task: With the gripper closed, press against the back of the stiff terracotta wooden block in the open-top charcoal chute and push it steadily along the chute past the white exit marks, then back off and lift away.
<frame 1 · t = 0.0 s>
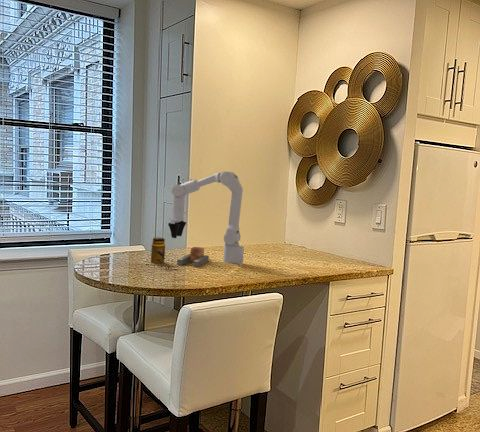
hand: (176, 237, 238), 10 cm above the breakfast bar, fingers open, 7 cm apart
condiment: (155, 264, 219), on the breakfast bar
chute: (193, 264, 224), on the breakfast bar
block: (197, 254, 229), point 4 cm above the breakfast bar, slide at 0.0 cm
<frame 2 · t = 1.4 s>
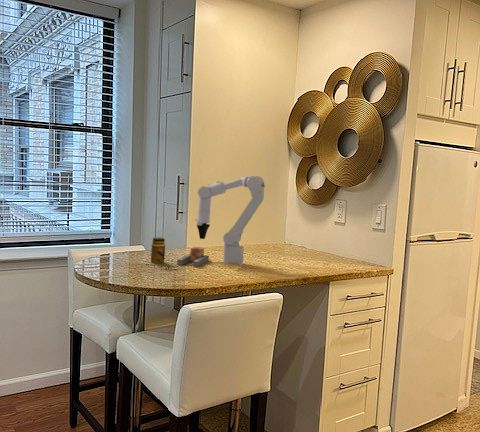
hand: (202, 238, 236), 10 cm above the breakfast bar, fingers closed
nothing on the breakfast bar moved.
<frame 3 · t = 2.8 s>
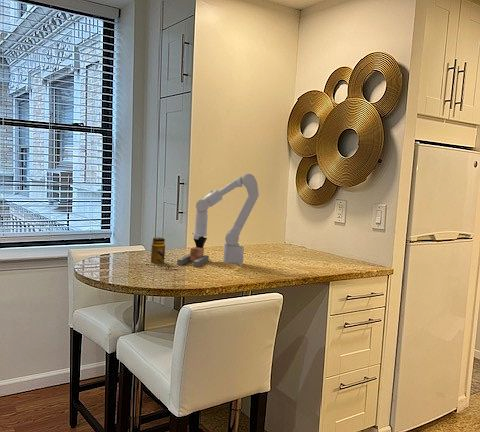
hand: (199, 252, 233), 4 cm above the breakfast bar, fingers closed
block: (197, 254, 229), point 4 cm above the breakfast bar, slide at 0.4 cm, touching gripper
everything else where it was.
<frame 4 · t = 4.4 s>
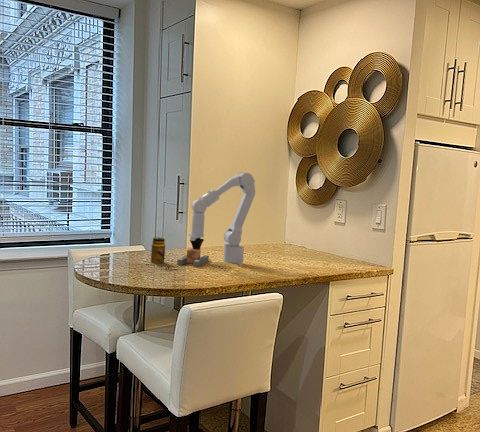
hand: (196, 254, 228), 4 cm above the breakfast bar, fingers closed
block: (193, 256, 224), point 4 cm above the breakfast bar, slide at 5.7 cm, touching gripper
everything else where it was.
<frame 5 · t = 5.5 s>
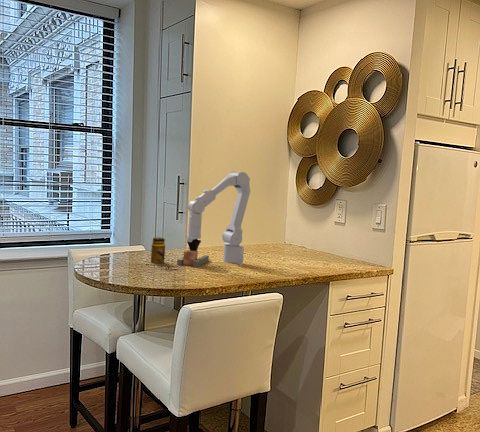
hand: (193, 255, 223), 4 cm above the breakfast bar, fingers closed
block: (190, 257, 219), point 4 cm above the breakfast bar, slide at 10.3 cm, touching gripper
everything else where it was.
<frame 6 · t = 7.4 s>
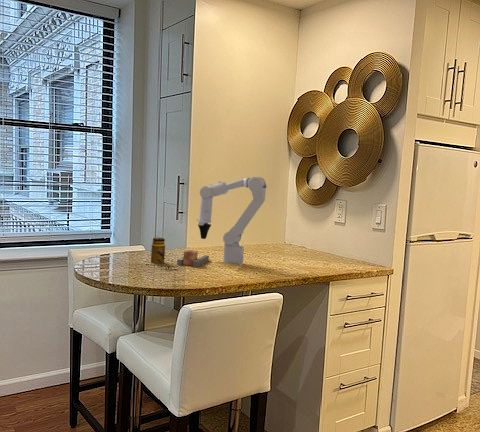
hand: (203, 238, 236), 10 cm above the breakfast bar, fingers closed
block: (190, 257, 219), point 4 cm above the breakfast bar, slide at 10.4 cm
everything else where it was.
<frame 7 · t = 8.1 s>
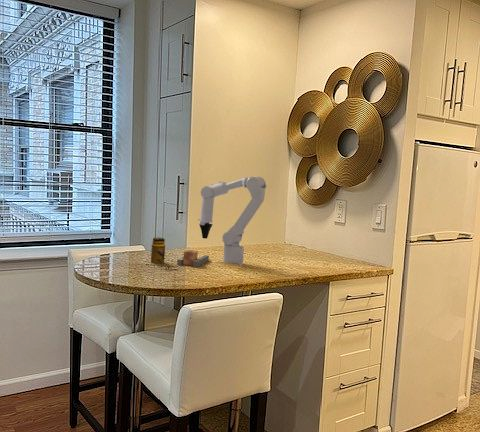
hand: (204, 238, 238), 10 cm above the breakfast bar, fingers closed
nothing on the breakfast bar moved.
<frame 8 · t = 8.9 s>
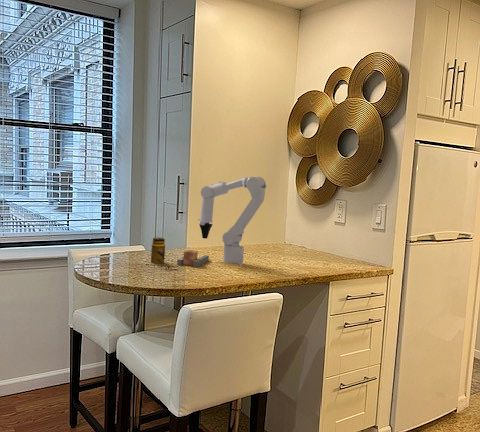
hand: (204, 238, 238), 10 cm above the breakfast bar, fingers closed
nothing on the breakfast bar moved.
at the end: block slide at 10.4 cm; condiment moved 0.3 cm from its start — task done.
